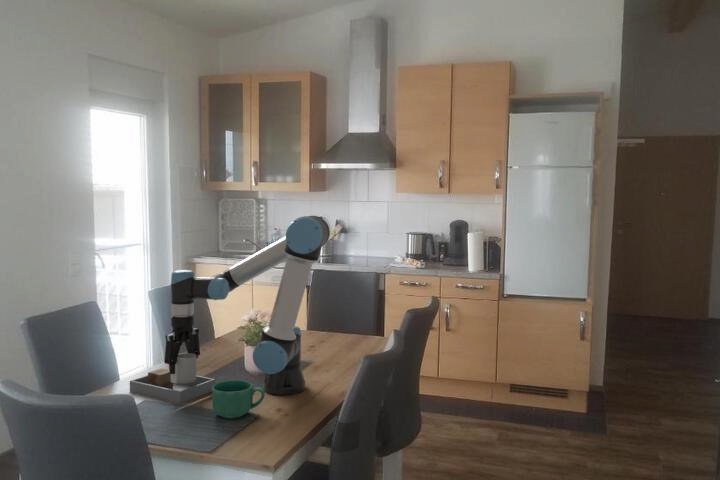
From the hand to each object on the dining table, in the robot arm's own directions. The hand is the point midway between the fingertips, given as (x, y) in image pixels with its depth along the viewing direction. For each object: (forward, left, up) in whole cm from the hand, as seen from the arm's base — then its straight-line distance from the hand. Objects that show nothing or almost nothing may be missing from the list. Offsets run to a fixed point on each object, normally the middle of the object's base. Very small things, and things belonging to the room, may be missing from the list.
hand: (182, 379), depth 216 cm
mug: (-29, +5, -6) cm, 30 cm away
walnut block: (+11, 0, -5) cm, 12 cm away
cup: (0, 0, 0) cm, 1 cm away
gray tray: (+5, 0, -5) cm, 7 cm away
